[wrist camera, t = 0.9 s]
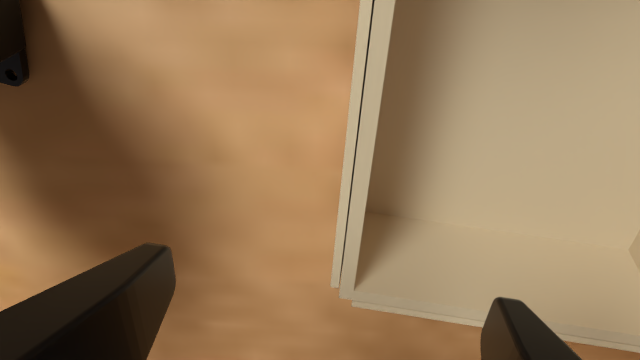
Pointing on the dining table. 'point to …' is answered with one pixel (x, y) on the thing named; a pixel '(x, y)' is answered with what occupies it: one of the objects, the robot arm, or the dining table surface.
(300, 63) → the dining table surface
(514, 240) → the carton
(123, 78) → the dining table surface
